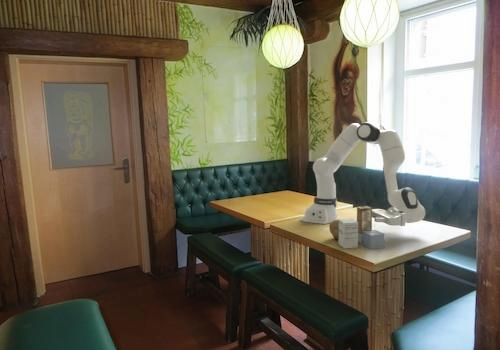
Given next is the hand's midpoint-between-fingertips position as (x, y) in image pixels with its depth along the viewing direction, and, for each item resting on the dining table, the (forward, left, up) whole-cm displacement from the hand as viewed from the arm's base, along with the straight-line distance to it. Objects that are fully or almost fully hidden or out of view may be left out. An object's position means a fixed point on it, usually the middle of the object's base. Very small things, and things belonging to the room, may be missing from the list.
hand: (370, 217), depth 192 cm
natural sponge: (-15, -2, -12) cm, 19 cm away
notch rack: (0, -5, -11) cm, 13 cm away
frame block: (-3, -2, -7) cm, 8 cm away
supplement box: (-9, -12, -12) cm, 19 cm away
